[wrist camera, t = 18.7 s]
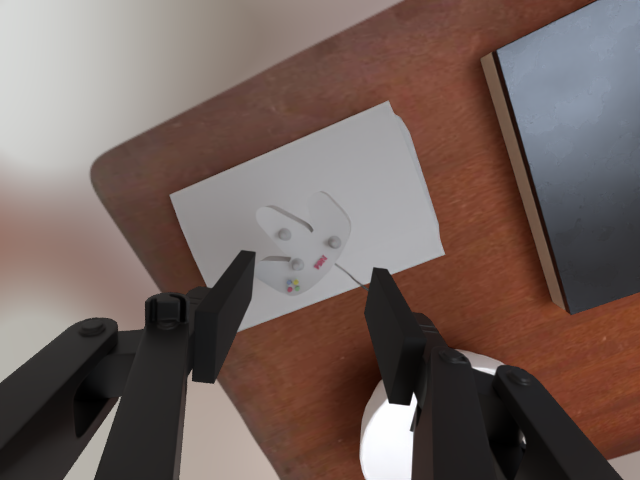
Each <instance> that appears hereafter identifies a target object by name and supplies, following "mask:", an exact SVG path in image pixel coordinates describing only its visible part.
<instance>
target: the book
mask: <svg viewBox="0 0 640 480" xmlns="http://www.w3.org/2000/svg"><path fill="white" fill-rule="evenodd" d="M315 192H326V193H328V194H329V195H330V196H331V197H332V198H333V199H334V200H335V201H336V202H337V203H338V204H339V205H340V206H341V207H342V208H343V209H344V211H345V212H346V213H347V215H348V217H349V219H350V220H351V232H350V235H349V238H348V241H347V243H346V246H345V248H344V249H343V251H342V253H341V255H340V257H339V259H338V260H337V261H336V264H337V265H339V266H340V267H342V268H343V269H344V270H346V271H347V272H348V273H350V274H351V275H352V276H353V277H354V278H355V279H356V280H357V281H358V282H359V283H361V284H362V285H365V284H367V283H370V281H371V276H372V271H373V267H377V268H384V269H388V271H389V273H390V274H394V273H397V272H399V271H402V270H405V269H407V268H410V267H413V266H415V265H418V264H421V263H423V262H426V261H429V260H431V259H434V258H437V257H440V256H442V255H445V253H444V250H443V247H442V244H441V241H440V236H439V224H438V221H437V218H436V214H435V211H434V208H433V205H432V202H431V199H430V195H429V192H428V189H427V186H426V183H425V180H424V177H423V173H422V170H421V167H420V164H419V161H418V158H417V154H416V151H415V148H414V145H413V142H412V139H411V135H410V132H409V131H408V129H407V128H406V126H405V124H404V123H403V121H402V119H401V118H400V117H399V116H397V115H395V114H394V113H393V110H392V108H391V106H390V103H389V101H386V102H384V103H382V104H379V105H377V106H375V107H373V108H370V109H368V110H366V111H363V112H361V113H359V114H356V115H354V116H352V117H349V118H347V119H345V120H342V121H340V122H338V123H335V124H333V125H331V126H328V127H326V128H324V129H321V130H319V131H317V132H314V133H312V134H310V135H307V136H305V137H303V138H301V139H298V140H296V141H294V142H291V143H289V144H287V145H284V146H282V147H280V148H277V149H275V150H273V151H270V152H268V153H266V154H263V155H261V156H259V157H256V158H254V159H252V160H249V161H247V162H245V163H242V164H240V165H238V166H235V167H233V168H231V169H229V170H226V171H224V172H222V173H219V174H217V175H215V176H212V177H210V178H208V179H205V180H203V181H201V182H198V183H196V184H194V185H191V186H189V187H187V188H184V189H182V190H180V191H177V192H175V193H173V194H170V198H171V201H172V203H173V206H174V209H175V212H176V215H177V217H178V220H179V223H180V226H181V228H182V231H183V233H184V236H185V238H186V240H187V243H188V245H189V247H190V250H191V252H192V255H193V257H194V259H195V261H196V263H197V266H198V268H199V270H200V272H201V274H202V276H203V278H204V281H205V283H206V285H207V287H208V288H213V286H214V285H215V284H216V282H217V281H218V280H219V278H220V277H221V276H222V275H223V273H224V272H225V271H226V269H227V268H228V267H229V265H230V264H231V263H232V261H233V260H234V259H235V258H236V256H237V255H238V254H239V252H240V251H241V250H246V251H254V252H256V257H255V266H256V265H257V263H259V262H260V261H261V260H263V259H264V258H266V257H268V256H283V257H290V256H288V255H287V254H285V253H284V252H283V251H282V250H281V249H280V248H279V247H278V246H277V245H276V243H275V242H274V241H273V240H272V239H271V238H270V237H269V235H268V234H267V233H266V232H265V231H264V230H263V229H262V228H261V226H260V225H259V224H258V222H257V220H256V212H257V210H258V209H259V208H261V207H265V206H270V205H274V206H277V207H279V208H281V209H283V210H285V211H287V212H289V213H291V214H292V215H294V216H296V217H298V218H300V219H302V220H304V221H305V222H307V223H308V224H310V225H311V227H312V228H313V226H312V223H311V219H310V215H309V212H308V208H307V200H308V198H309V196H310V195H311V194H313V193H315ZM254 270H255V268H254ZM359 286H360V285H359V284H357V283H356V282H355V281H354V280H353V279H352V278H351V277H350V276H349V275H347V274H346V273H345V272H344V271H342V270H341V269H339V268H338V267H337V266H335V265H333V267H332V268H331V270H330V271H329V272H328V273H327V274H326V275H325V276H324V277H323V278H322V279H321V280H320V281H319V282H318V283H317V284H316V285H314V286H313V287H312V288H311V289H309V290H307V291H306V292H304V293H302V294H300V295H296V296H288V295H285V294H282V293H280V292H278V291H276V290H275V289H273V288H271V287H270V286H268V285H266V284H265V283H263V282H261V281H260V280H258V279H257V277H256V275H255V272H254V279H253V291H252V300H251V302H250V304H249V306H248V309H247V311H246V313H245V315H244V318H243V320H242V322H241V324H240V327H239V329H238V331H237V332H239V331H241V330H244V329H247V328H249V327H252V326H255V325H257V324H260V323H263V322H266V321H268V320H271V319H274V318H276V317H279V316H282V315H284V314H287V313H290V312H292V311H295V310H298V309H300V308H303V307H306V306H308V305H311V304H314V303H316V302H319V301H322V300H324V299H327V298H330V297H332V296H335V295H338V294H340V293H343V292H346V291H348V290H351V289H354V288H357V287H359Z"/></svg>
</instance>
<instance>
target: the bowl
mask: <svg viewBox="0 0 640 480" xmlns="http://www.w3.org/2000/svg"><path fill="white" fill-rule="evenodd" d="M455 350H457V351H459V352H460V353H462V354H464V355H465V356H466V357H467V358H468V359H469V361H470V363H471V366H472V368H474V369H476V370H479V371H483V372H486V373H489V374H492V375H495V372H496V369H497V367H498V366H500V365H505V364H503V363H502V362H500V361H498V360H495V359H493V358H490V357H487V356H485V355H480V354H476V353H473V352H470V351H464V350H459V349H455ZM416 405H417V400H416V397H415V395H414V392H413V396H412V400H411V404H410V406H406V405H397V404H389V402H388V398H387V395H386V391H385V387H384V384H383V380H381V381H380V382H379V383H378V385H377V387H376V388H375V390H374V392H373V394H372V396H371V398H370V400H369V402H368V403H367V405H366V408H365V411H364V415H363V418H362V425H361V438H360V457H359V458H360V462H361V467H362V472H363V474H364V476H365V478H366V480H411V471H412V450H413V432H411V431H410V427H411V424H412V420H413V416H414V412H415V408H416ZM523 441H524V443H525V444H526V442H525V438H523Z"/></svg>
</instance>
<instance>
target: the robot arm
mask: <svg viewBox="0 0 640 480" xmlns="http://www.w3.org/2000/svg"><path fill="white" fill-rule="evenodd" d="M255 257H256V252H254V251H246V250H241V251H240V252H239V254H238V255H237V256H236V258H235V259H234V260H233V261H232V263H231V264H230V265H229V267H228V268H227V269H226V271H225V272H224V273H223V275H222V276H221V277H220V278H219V280H218V281H217V282H216V284H215V285H214V286H213V288H208V287H200V286H198V287H196V288H194V289H192V290H190V291H189V292H188V293H187V294H186V295H184V294H180V293H173V292H168V293H160V294H156V295H153V296H151V297H150V298H148V299H147V300H146V301H145V327H144V329H141V330H131V331H118V325H117V322H116V321H114V320H112V319H108V318H92V319H91V318H90V319H85V320H83V321H80V322H78V323H75V324H74V325H72V326H70V327H69V328H68V329H66V330H65V331H64V332H63V333H61V334H60V335H59V336H58V337H56V338H55V339H54V340H53V341H51V342H50V343H49V344H48V345H47V346H45V347H44V348H43V349H42V350H40V351H39V352H38V353H37V354H35V355H34V356H33V357H32V358H30V359H29V360H28V361H27V362H26V363H25V364H23V365H22V366H21V367H19V368H18V369H17V370H16V371H14V372H13V373H12V374H11V375H9V376H8V377H7V378H6V379H5V380H3V381H2V382H1V383H0V480H63V479H64V477H65V476H66V474H67V473H68V472H69V470H70V469H71V467H72V466H73V464H74V463H75V462H76V460H77V459H78V457H79V456H80V454H81V453H82V451H83V450H84V449H85V447H86V446H87V444H88V443H89V441H90V440H91V438H92V437H93V436H94V434H95V433H96V431H97V430H98V428H99V427H100V425H101V424H102V422H103V421H104V420H105V418H106V417H107V415H108V414H109V412H110V411H111V409H112V408H113V407H114V405H115V404H116V402H117V401H118V399H119V397H121V396H122V397H121V400H120V403H119V406H118V409H117V412H116V415H115V418H114V421H113V424H112V427H111V430H110V433H109V436H108V439H107V442H106V445H105V448H104V451H103V454H102V457H101V460H100V463H99V466H98V469H97V472H96V475H95V478H94V480H179V475H180V463H181V452H182V440H183V427H184V417H185V405H186V394H187V377H188V375H189V374H190V372H191V370H193V371H192V381H194V382H203V383H212V384H214V382H215V380H216V378H217V376H218V374H219V371H220V369H221V367H222V365H223V363H224V360H225V358H226V356H227V354H228V351H229V349H230V347H231V345H232V342H233V340H234V338H235V336H236V333H237V331H238V329H239V327H240V324H241V322H242V320H243V318H244V315H245V313H246V311H247V309H248V306H249V304H250V302H251V300H252V291H253V279H254V268H255ZM364 314H365V318H366V322H367V325H368V329H369V333H370V336H371V340H372V343H373V347H374V351H375V354H376V358H377V362H378V365H379V369H380V373H381V376H382V380H383V384H384V387H385V391H386V395H387V398H388V402H389V404H397V405H406V406H410V404H411V400H412V396H413V392H414V395H415V397H416V400H417V405H416V408H415V412H414V416H413V420H412V424H411V427H410V431H411V432H413V450H412V471H411V480H623V479H622V478H621V477H620V475H619V474H618V473H617V472H616V471H615V470H614V468H613V467H612V466H611V465H610V464H609V463H608V461H607V460H606V459H605V458H604V457H603V455H602V454H601V453H600V452H599V451H598V450H597V448H596V447H595V446H594V445H593V444H592V443H591V441H590V440H589V439H588V438H587V437H586V436H585V434H584V433H583V432H582V431H581V430H580V429H579V427H578V426H577V425H576V424H575V423H574V422H573V420H572V419H571V418H570V417H569V416H568V414H567V413H566V412H565V411H564V410H563V409H562V407H561V406H560V405H559V404H558V403H557V402H556V400H555V399H554V398H553V397H552V396H551V395H550V393H549V392H548V391H547V390H546V389H545V388H544V386H543V385H542V384H541V383H540V382H539V381H538V380H537V379H536V378H535V377H534V376H533V375H531V374H529V373H528V372H527V371H525V370H523V369H520V368H519V367H514V366H510V365H500V366H498V367H497V369H496V372H495V375H492V374H489V373H486V372H483V371H479V370H476V369H474V368H472V366H471V363H470V361H469V359H468V358H467V357H466V356H465V355H464V354H462V353H460V352H459V351H457V350H455V349H452V348H449V347H448V346H447V344H446V343H445V341H444V339H443V338H442V336H441V335H440V334H439V332H438V330H437V329H436V328H435V326H434V324H433V323H432V321H431V320H430V319H429V318H428V317H426V316H425V315H424V314H422V313H415V312H412V311H411V310H410V308H409V306H408V304H407V303H406V301H405V299H404V297H403V296H402V294H401V292H400V290H399V289H398V287H397V285H396V283H395V281H394V280H393V278H392V276H391V274H390V273H389V271H388V269H384V268H377V267H373V271H372V276H371V281H370V286H369V291H368V296H367V302H366V307H365V312H364ZM192 368H193V369H192ZM523 438H525V442H526V444H525V443H524V441H523Z"/></svg>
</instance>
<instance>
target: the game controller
mask: <svg viewBox="0 0 640 480" xmlns="http://www.w3.org/2000/svg"><path fill="white" fill-rule="evenodd" d="M307 208H308V212H309V215H310V219H311V223H312V226H313V228H312V227H311V225H310V224H308V223H307V222H305V221H304V220H302V219H300V218H298V217H296V216H294V215H292V214H291V213H289V212H287V211H285V210H283V209H281V208H279V207H277V206H274V205H270V206H265V207H261V208H259V209H258V210H257V212H256V220H257V222H258V224H259V225H260V226H261V228H262V229H263V230H264V231H265V232H266V233H267V234H268V235H269V237H270V238H271V239H272V240H273V241H274V242H275V243H276V245H277V246H278V247H279V248H280V249H281V250H282V251H283V252H284V253H285V254H287V255H288V256H290V257H283V256H268V257H266V258H264V259H263V260H261V261H260V262H259V263H257V265H256V266H255V270H254V272H255V275H256V277H257V279H258V280H260V281H261V282H263V283H265V284H266V285H268V286H270V287H271V288H273V289H275V290H276V291H278V292H280V293H282V294H285V295H288V296H296V295H300V294H302V293H304V292H306V291H307V290H309V289H311V288H312V287H313V286H314V285H316V284H317V283H318V282H319V281H320V280H321V279H322V278H323V277H324V276H325V275H326V274H327V273H328V272H329V271H330V270H331V268H332V267H333V265H335V266H337V267H338V268H339V269H341V270H342V271H344V272H345V273H346V274H347V275H349V276H350V277H351V278H352V279H353V280H354V281H355V282H356V283H357V284H359V285H360V286H361V287H363V288H364V289H366V290H367V291H369V289H368V288H366V287H365V286H364V285H362V284H361V283H359V282H358V281H357V280H356V279H355V278H354V277H353V276H352V275H351V274H350V273H348V272H347V271H346V270H344V269H343V268H342V267H340V266H339V265H337V264H336V261H337V260H338V259H339V257H340V255H341V253H342V251H343V249H344V248H345V246H346V243H347V241H348V238H349V235H350V232H351V220H350V219H349V217H348V215H347V213H346V212H345V211H344V209H343V208H342V207H341V206H340V205H339V204H338V203H337V202H336V201H335V200H334V199H333V198H332V197H331V196H330V195H329V194H328V193H326V192H315V193H313V194H311V195H310V196H309V198H308V200H307Z"/></svg>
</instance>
